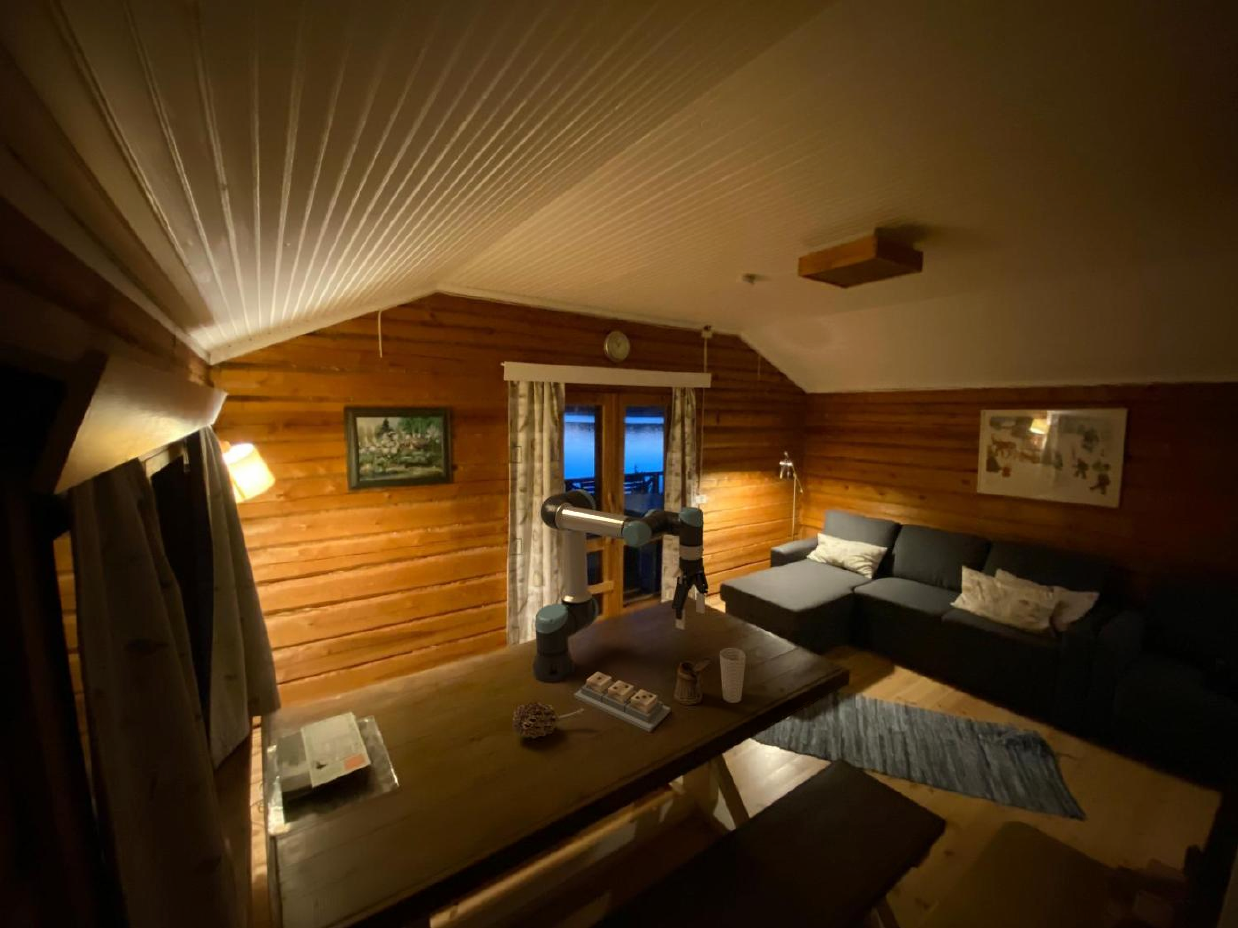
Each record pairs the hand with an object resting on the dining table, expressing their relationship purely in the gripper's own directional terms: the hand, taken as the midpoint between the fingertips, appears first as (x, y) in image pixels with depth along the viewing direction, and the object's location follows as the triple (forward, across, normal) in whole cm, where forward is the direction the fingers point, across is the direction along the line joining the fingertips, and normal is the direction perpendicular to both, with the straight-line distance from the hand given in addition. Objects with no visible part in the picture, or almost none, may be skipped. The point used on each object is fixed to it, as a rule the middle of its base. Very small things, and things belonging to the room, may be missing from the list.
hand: (690, 619), depth 164 cm
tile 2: (+25, -15, +17) cm, 34 cm away
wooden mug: (+28, 0, -1) cm, 28 cm away
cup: (+28, +9, -11) cm, 31 cm away
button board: (+28, -15, +17) cm, 36 cm away
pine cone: (+28, -38, +27) cm, 55 cm away
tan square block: (+25, -15, +26) cm, 39 cm away
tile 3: (+25, -15, +8) cm, 30 cm away
